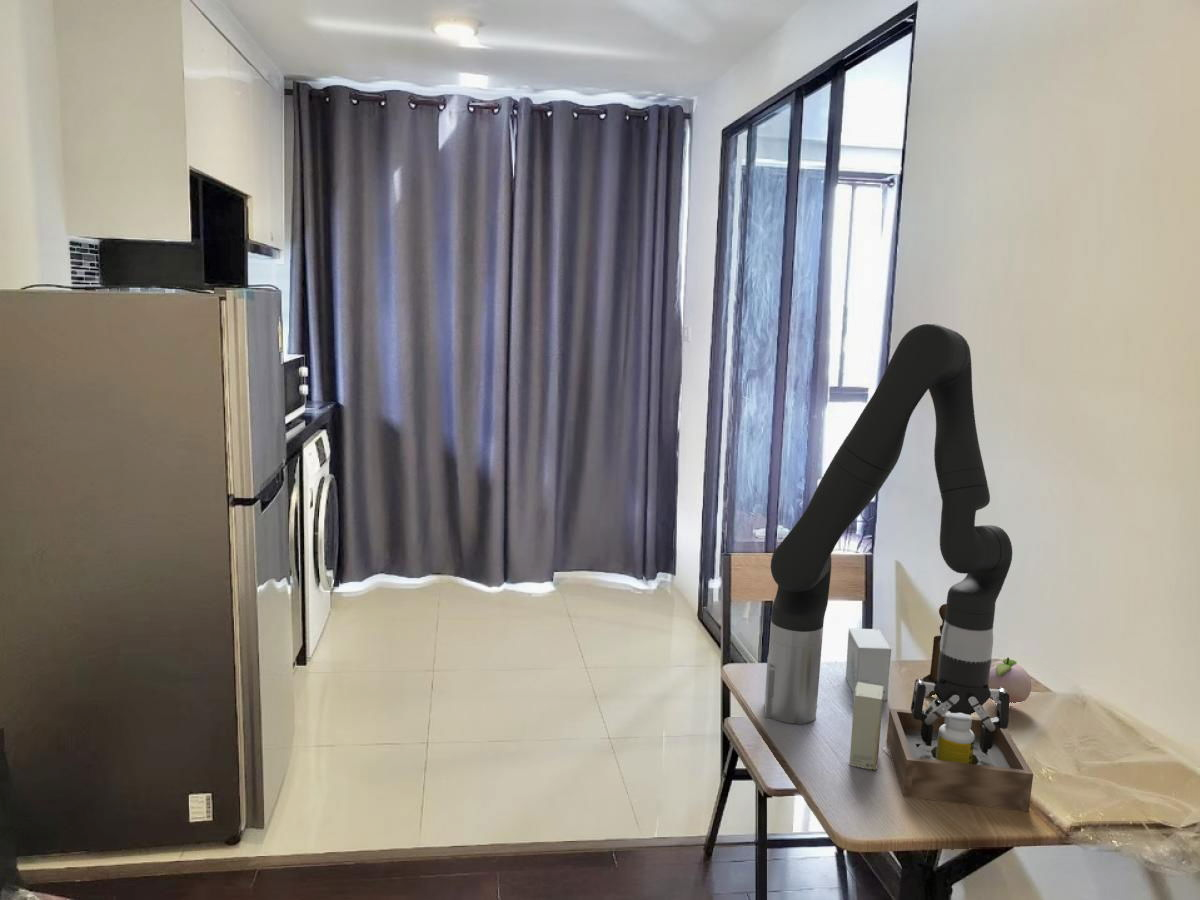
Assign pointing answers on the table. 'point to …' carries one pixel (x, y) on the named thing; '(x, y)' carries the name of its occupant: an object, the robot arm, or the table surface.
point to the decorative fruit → (1010, 679)
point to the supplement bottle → (955, 739)
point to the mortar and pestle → (936, 652)
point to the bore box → (958, 767)
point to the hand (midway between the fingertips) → (955, 747)
